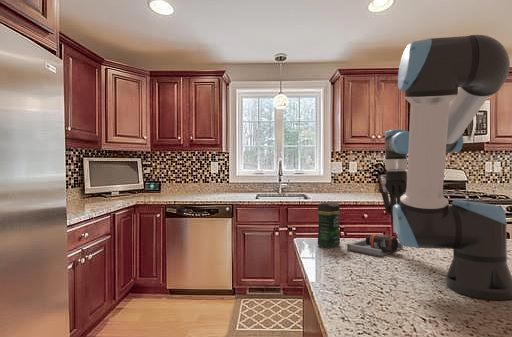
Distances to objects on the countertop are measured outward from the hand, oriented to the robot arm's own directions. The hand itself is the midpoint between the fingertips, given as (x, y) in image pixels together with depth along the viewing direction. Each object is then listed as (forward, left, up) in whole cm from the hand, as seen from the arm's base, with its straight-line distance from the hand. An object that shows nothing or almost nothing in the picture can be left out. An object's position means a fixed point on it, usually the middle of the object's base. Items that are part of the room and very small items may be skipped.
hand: (396, 232), depth 122 cm
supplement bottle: (-1, 0, -5) cm, 5 cm away
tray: (0, +9, -8) cm, 12 cm away
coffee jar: (-8, +25, -8) cm, 28 cm away
